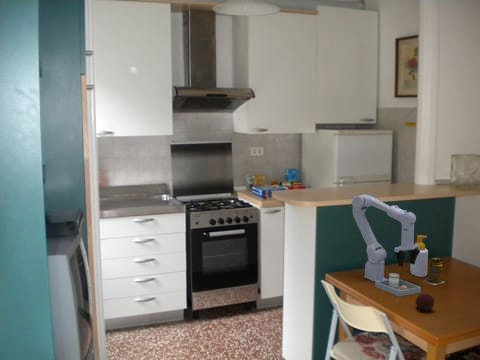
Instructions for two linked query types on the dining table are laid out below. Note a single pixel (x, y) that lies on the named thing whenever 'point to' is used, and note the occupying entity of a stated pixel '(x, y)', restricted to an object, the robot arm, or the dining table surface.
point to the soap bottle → (420, 259)
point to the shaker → (394, 280)
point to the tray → (398, 292)
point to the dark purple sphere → (425, 302)
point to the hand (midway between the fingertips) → (406, 264)
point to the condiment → (435, 271)
